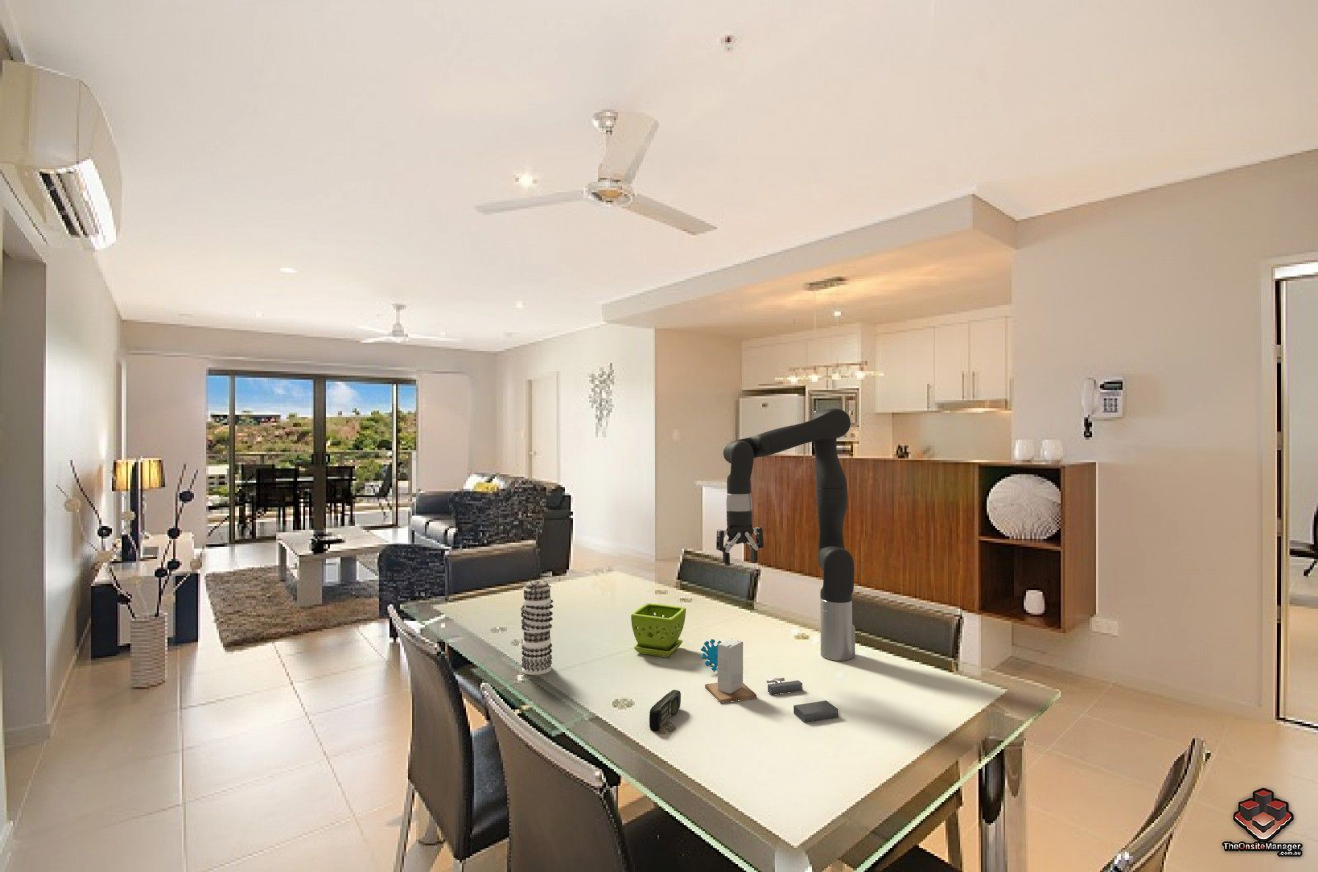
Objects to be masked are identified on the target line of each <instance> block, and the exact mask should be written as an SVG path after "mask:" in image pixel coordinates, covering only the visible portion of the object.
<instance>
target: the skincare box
mask: <svg viewBox="0 0 1318 872" xmlns="http://www.w3.org/2000/svg"><path fill="white" fill-rule="evenodd" d="M721 642H722V643H720V644H718V666H717V683H718V690H720V691H722V692H725V693H729V694H731V693H733V692H735V691H736V690H738V689H740V688H741V687H743V683H744V642H743V641H742V640H739V639H734V638H728V639H727V640H723V641H721Z"/></svg>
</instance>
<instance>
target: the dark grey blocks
mask: <svg viewBox="0 0 1318 872" xmlns="http://www.w3.org/2000/svg"><path fill="white" fill-rule="evenodd" d="M785 680H786V678H785V677H779V678H777V677H776V678H772V679H766V684H767V693H768V692H769V693H770V694H769V693H768V694H769V695H770V696H775V694H777V695H781V694H780V693H784V694H789V693H788V692H791V693H797V692H803V682H802V681H800V680H790V681H785ZM793 714H794V716H796V717H797V718H798V719H799V720H801V722H803V723H804V724H807V723H814V722H819V721H821V722H822V721H826V720H831V719H832V720H833V719H838V718H839V708H838V707H836V706H835V705H834V704H832V703H831V702H830V701H828V700H820V701H813V702H807V703H800V704H793Z"/></svg>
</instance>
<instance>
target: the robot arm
mask: <svg viewBox="0 0 1318 872" xmlns="http://www.w3.org/2000/svg"><path fill="white" fill-rule="evenodd" d="M851 422H852V421H851V417H850V415H849V414H848V413H847V412H846V411H845V410H843V409H841V408H835V407H833V408H826V409H821V410H818V411H816V412H815V414H813V416H812V419H811V420H808V421H805V422H801V423H797V424H791V425H787V426H782V427H779V428H778V427H777V428H775V429H771V430H767V431H764V432H762V433H761V432H760V433H758V434H756V435H754V436H748V437H745V438H744V437H743V438H740V439H736V440H733V441H732V440H731V441H730V442H728V443H726V445H725V446H724V448H723V452H722V455H723V458H724V460H725V461H726V462H727V463H728V464H730V473H729V474H728V476H727V477H726V499H725V501H726V503H725V504H726V505H725V506H726V527H727V528H726V529H717V530H716V541H715V542H716V543H715V544H716V547H715V549H716V550H717V551H720V552H722V562H723V564H724V565H725V566H726V567H730V566H731V553H730V551H731V550H732V548H733V547H734V546H735V545H741V544H744V545H745V544H747V545H748V546H749V547H750V562H751V563H752V564H757V562H758V560H759V556H758V555H759V554H758V550H759V549H761V548H764V547H765V546H764V531H763V528H762V527H759V526H756V527H753V523H754V522H753V499H752V485H751V484H752V483H751V482H752V480H751V479H752V478H751V477H752V473H753V469H754V467H753V466H754V460H755V459H756V458H765V457H768V456H772V455H776V454H778V453H781V452H784V451H787V450H789V449H793V448H796V447H799V446H801V445H806V444H808V443H812V442H813V447H814V459H815V463H814V465H815V481H816V482H815V487H816V488H815V490H816V491H815V493H816V507H817V510H816V511H817V519H818V530H819V531H818V532H819V535H818V548H817V562H818V565H819V568H820V569H821V570H822V571H823V573H822V574H823V576H822V579H823V581H822V583H823V584H822V587H821V588H820V591H819V594H820V596H819V597H820V598H819V600H820V601H819V602H820V656H821V657H822V658H825V659H827V660H832V661H841V662H842V661H843V662H844V661H849V660H851V659H852V658H856V627H855V625H854V624H853V592H854V589H855V560H854V557H853V555H852V554H851V553H850V551H848V550H847V549H845V542H844V532H843V531H844V523H845V518H846V514H847V509H848V502H849V501H848V499H849V496H848V481H847V477H846V474H845V472H844V469H843V467H842V465H841V462H840V459H839V456H838V450H837V449H838V447H837V439H840V438H842V437H844V436H846V434H847V433H848V432H849V430H850V429H851V425H852V424H851ZM753 534H754V536H755V540H754V539H753V538H752V536H753ZM726 536H727V539H726V541H725V537H726Z"/></svg>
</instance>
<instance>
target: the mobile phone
mask: <svg viewBox="0 0 1318 872" xmlns="http://www.w3.org/2000/svg"><path fill="white" fill-rule="evenodd" d="M681 699H682V693H681V691H680V690H678V689H673V690H671V691H669V692H668V693H666V694H665V695H664V696H663V697H662V698H661V699H660V700H658V701H656V703H654V704H653V706H652V707H651V708H650V710H649V718H648V721H649V723H648V724H649V725H648V726H649V729H650V730H652V731H656V732H657V731H659V730H660V729H661V728H662V727H664V725H666V723H668V722H669V720H671V719H672V718H673V717H675V716H677V713H678V712H679V711H680V708H681V702H682V700H681Z"/></svg>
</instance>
